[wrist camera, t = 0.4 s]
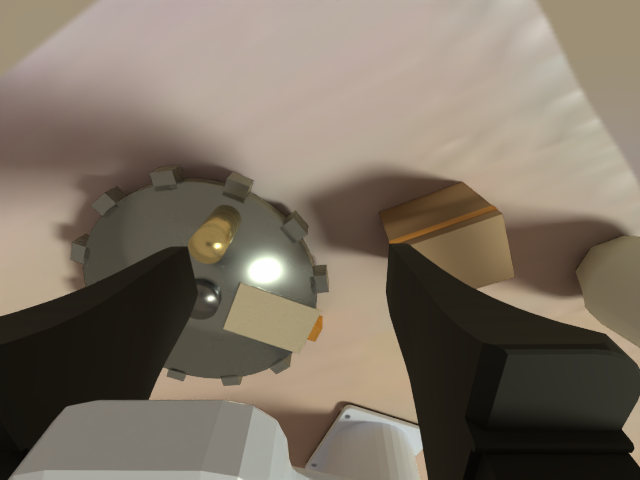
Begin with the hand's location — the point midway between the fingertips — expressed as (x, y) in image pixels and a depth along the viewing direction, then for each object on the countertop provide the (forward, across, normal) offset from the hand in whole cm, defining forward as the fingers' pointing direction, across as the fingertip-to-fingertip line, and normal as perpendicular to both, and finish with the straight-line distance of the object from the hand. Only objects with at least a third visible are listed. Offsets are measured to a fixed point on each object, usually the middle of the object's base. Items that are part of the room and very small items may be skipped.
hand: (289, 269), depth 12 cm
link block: (+9, -7, +2) cm, 12 cm away
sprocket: (+8, +6, +6) cm, 12 cm away
